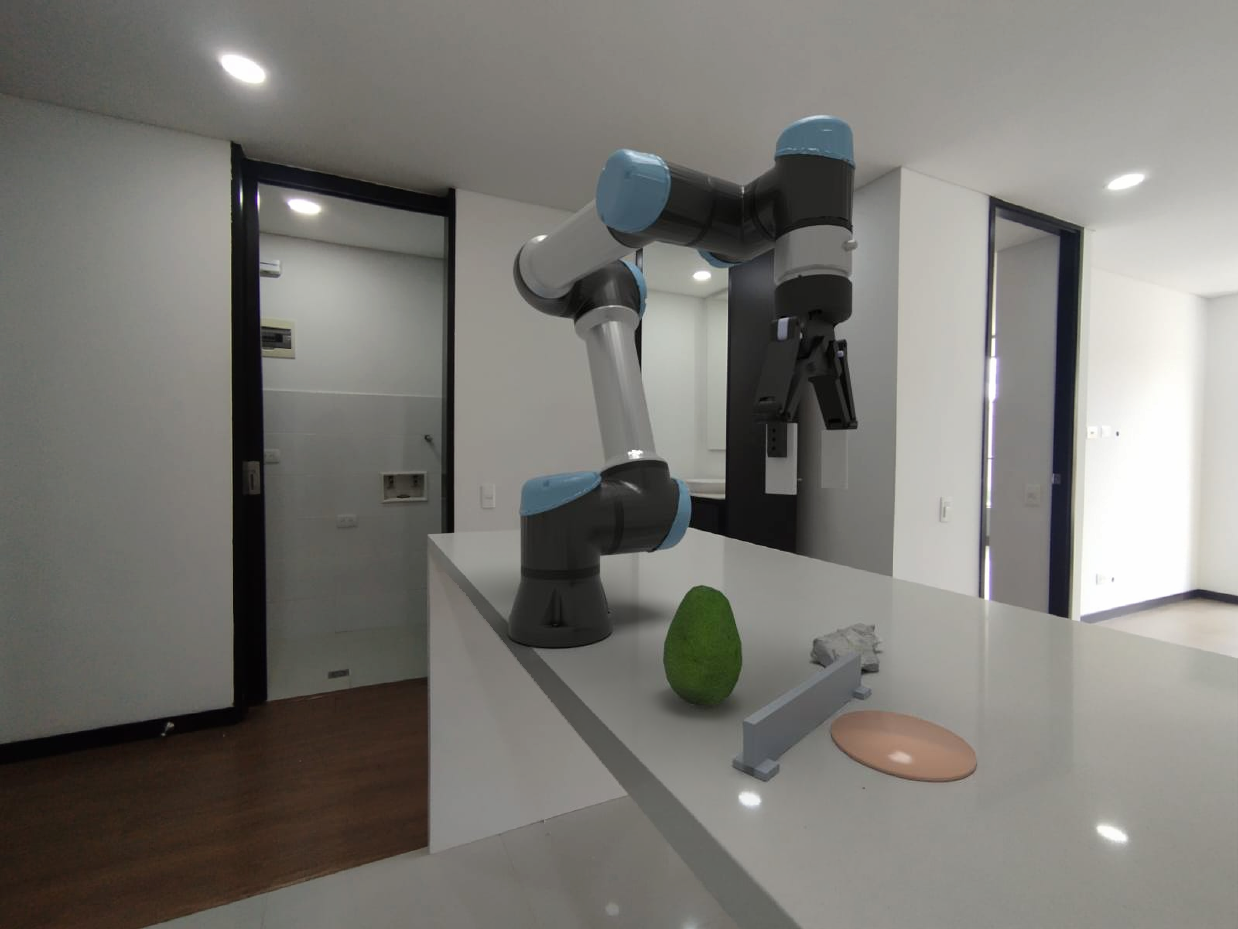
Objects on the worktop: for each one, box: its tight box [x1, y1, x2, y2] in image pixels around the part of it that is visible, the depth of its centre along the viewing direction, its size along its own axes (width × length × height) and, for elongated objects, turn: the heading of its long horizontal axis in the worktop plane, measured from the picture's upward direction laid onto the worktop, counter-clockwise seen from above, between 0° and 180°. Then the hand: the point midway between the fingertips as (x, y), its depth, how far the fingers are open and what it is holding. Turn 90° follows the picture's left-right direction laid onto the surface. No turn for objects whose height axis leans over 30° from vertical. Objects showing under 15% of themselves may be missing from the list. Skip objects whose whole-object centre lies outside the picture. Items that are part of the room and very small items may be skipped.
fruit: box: [662, 584, 743, 708], centre depth 54 cm, size 8×8×12 cm
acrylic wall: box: [731, 651, 872, 782], centre depth 50 cm, size 3×22×4 cm, turn 136°
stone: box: [809, 622, 883, 672], centre depth 65 cm, size 6×12×4 cm, turn 118°
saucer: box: [830, 710, 977, 783], centre depth 46 cm, size 11×11×1 cm
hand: (810, 491), depth 55 cm, fingers open, 13 cm apart
